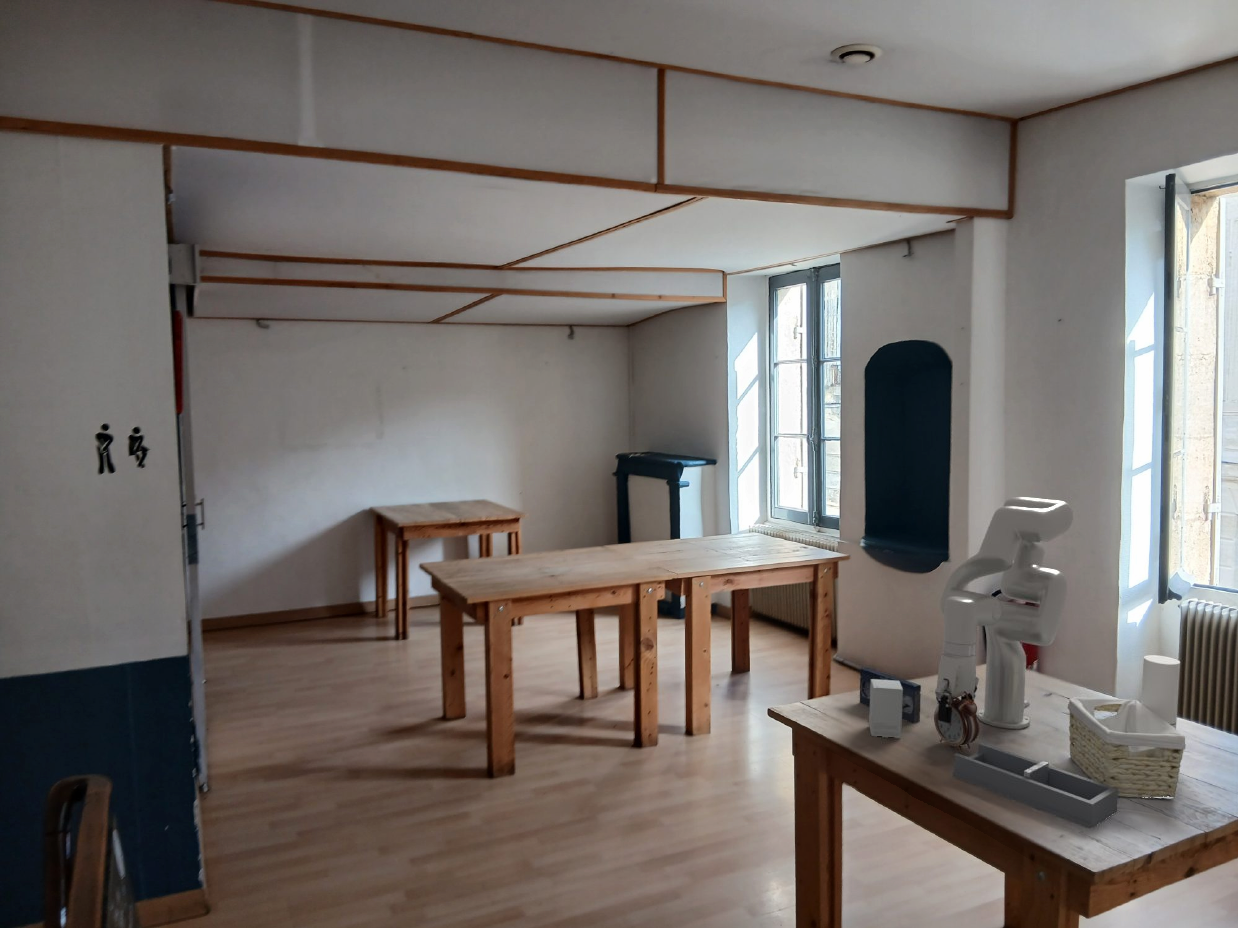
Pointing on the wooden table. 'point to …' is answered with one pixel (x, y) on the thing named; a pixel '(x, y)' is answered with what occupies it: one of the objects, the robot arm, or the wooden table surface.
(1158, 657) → the cylindrical container
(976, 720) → the alarm clock
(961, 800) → the wooden table surface
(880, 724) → the supplement box
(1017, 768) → the tray
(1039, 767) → the pusher plate
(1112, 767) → the storage basket
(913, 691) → the vhs cassette tape
